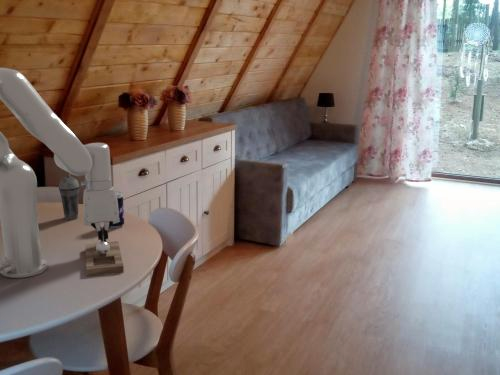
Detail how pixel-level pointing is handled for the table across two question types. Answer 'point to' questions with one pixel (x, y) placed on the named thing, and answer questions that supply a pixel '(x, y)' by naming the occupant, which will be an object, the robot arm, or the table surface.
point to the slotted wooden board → (103, 260)
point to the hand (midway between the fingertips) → (103, 241)
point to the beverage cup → (69, 196)
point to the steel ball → (102, 248)
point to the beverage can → (121, 211)
